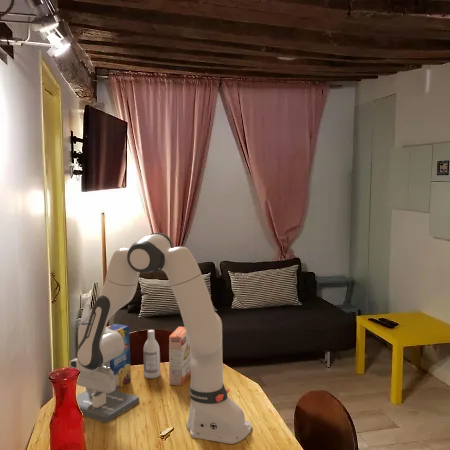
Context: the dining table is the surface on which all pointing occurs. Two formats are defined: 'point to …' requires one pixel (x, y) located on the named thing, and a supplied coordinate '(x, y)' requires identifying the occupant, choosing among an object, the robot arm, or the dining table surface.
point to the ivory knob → (99, 399)
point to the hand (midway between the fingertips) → (93, 399)
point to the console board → (106, 405)
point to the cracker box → (179, 357)
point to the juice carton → (121, 358)
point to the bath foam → (151, 356)
